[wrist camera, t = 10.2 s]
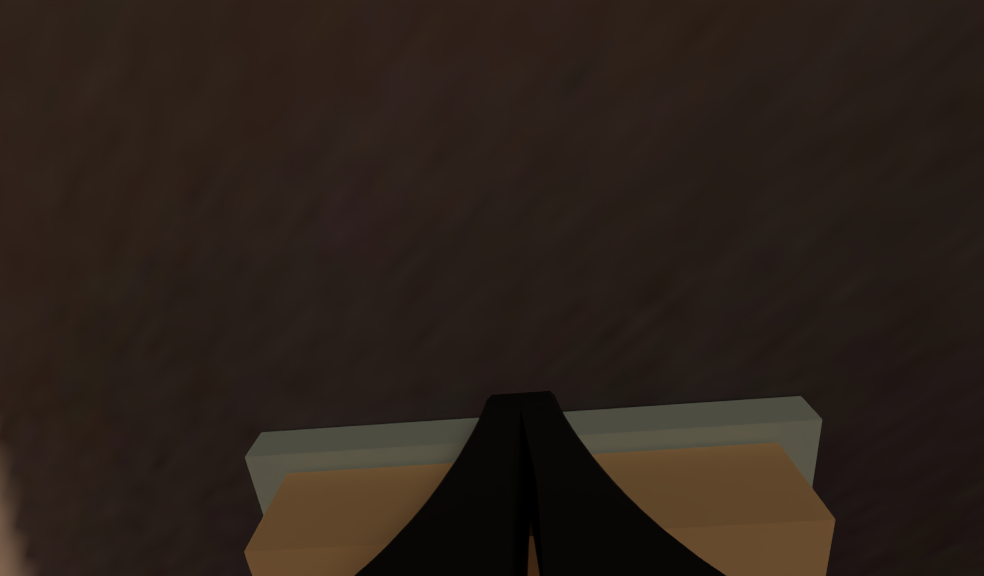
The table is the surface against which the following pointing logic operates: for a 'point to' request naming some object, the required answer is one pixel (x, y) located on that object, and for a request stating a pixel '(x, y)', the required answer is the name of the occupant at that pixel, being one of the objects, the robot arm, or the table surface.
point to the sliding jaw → (641, 475)
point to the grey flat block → (595, 428)
